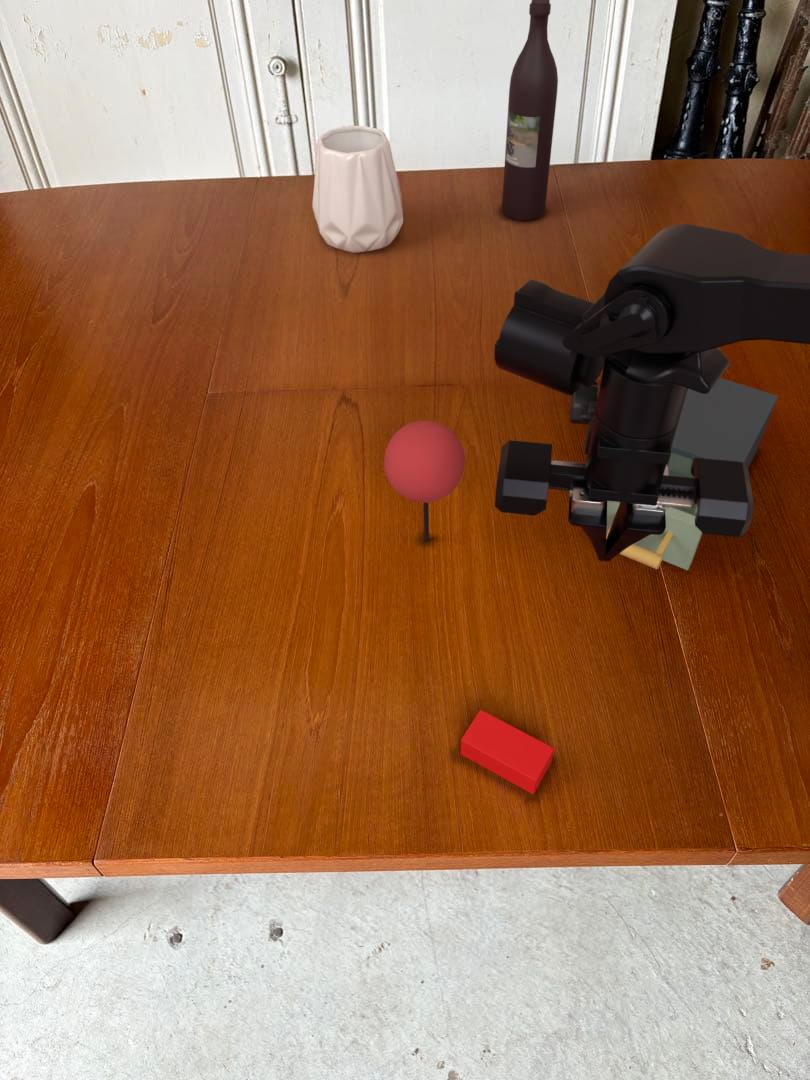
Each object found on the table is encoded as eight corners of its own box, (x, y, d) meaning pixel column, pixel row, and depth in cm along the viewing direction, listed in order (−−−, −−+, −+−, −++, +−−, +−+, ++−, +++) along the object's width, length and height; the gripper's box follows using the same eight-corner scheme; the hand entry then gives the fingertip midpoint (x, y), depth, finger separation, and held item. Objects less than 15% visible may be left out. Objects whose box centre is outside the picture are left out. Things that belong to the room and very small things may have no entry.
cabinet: (718, 525, 87) (739, 470, 81) (616, 486, 91) (629, 431, 85) (756, 451, 94) (778, 395, 88) (660, 418, 99) (675, 363, 92)
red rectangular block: (551, 762, 69) (554, 748, 67) (533, 795, 67) (536, 781, 65) (479, 724, 72) (480, 709, 70) (460, 754, 70) (460, 739, 68)
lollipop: (472, 525, 88) (477, 417, 77) (444, 575, 83) (445, 468, 72) (408, 505, 90) (404, 397, 79) (377, 553, 86) (368, 446, 74)
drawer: (671, 602, 79) (685, 560, 74) (572, 560, 83) (580, 518, 78) (727, 494, 88) (743, 451, 84) (636, 461, 92) (647, 418, 88)
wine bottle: (496, 205, 136) (507, -4, 114) (536, 199, 137) (555, -10, 115) (509, 224, 131) (524, 11, 109) (551, 218, 132) (574, 5, 110)
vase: (298, 245, 129) (285, 147, 118) (348, 208, 137) (340, 112, 125) (372, 267, 124) (365, 167, 112) (420, 227, 132) (418, 130, 120)
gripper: (763, 355, 61) (711, 501, 73) (514, 336, 64) (502, 480, 75) (782, 454, 54) (721, 599, 65) (499, 429, 56) (489, 572, 68)
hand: (603, 557), depth 69 cm, fingers closed
